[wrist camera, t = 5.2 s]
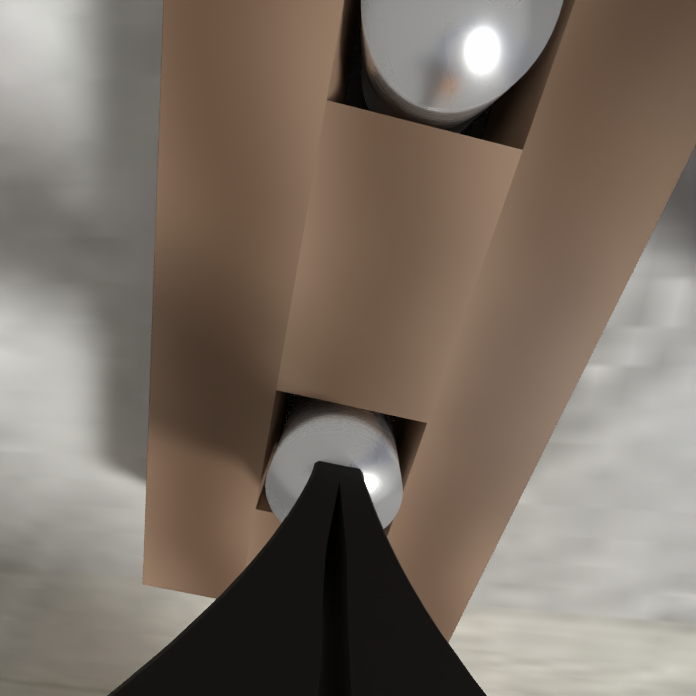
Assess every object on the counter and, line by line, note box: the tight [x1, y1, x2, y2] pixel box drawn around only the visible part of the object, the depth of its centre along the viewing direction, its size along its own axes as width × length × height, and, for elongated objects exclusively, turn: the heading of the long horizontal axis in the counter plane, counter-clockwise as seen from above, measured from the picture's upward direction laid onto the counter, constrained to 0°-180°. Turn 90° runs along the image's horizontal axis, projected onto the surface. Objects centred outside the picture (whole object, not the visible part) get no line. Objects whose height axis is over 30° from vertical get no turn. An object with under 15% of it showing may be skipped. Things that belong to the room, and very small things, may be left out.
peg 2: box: [361, 0, 563, 134], centre depth 9 cm, size 4×4×4 cm
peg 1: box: [265, 395, 403, 529], centre depth 12 cm, size 4×4×4 cm
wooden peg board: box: [143, 0, 696, 642], centre depth 11 cm, size 12×26×4 cm, turn 167°
